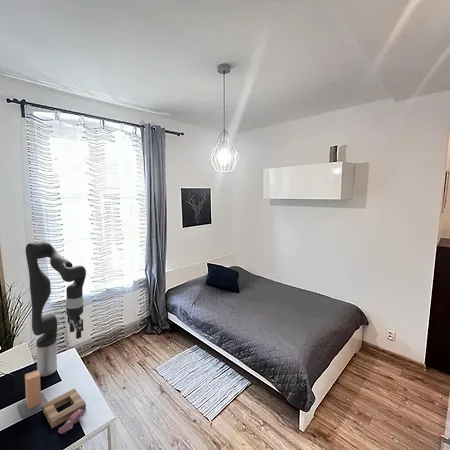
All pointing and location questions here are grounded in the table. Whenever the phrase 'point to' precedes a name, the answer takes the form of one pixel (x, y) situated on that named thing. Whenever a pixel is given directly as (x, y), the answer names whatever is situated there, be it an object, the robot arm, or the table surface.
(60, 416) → the walnut pocket block
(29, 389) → the terracotta block
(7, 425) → the table surface
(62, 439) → the table surface
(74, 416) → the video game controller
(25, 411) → the slate pad
